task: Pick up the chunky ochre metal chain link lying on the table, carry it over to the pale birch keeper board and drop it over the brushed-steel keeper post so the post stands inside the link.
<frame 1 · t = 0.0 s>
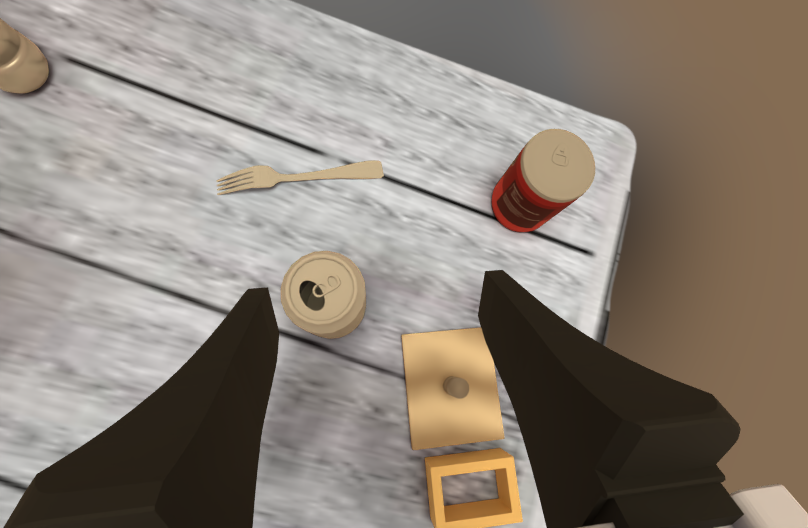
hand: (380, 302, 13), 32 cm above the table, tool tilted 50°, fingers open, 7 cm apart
plastic bottle: (30, 78, 48), on the table
keeper: (450, 385, 44), on the table
link: (466, 481, 42), on the table
can: (333, 306, 45), on the table
fork: (301, 180, 49), on the table
canned food: (518, 205, 50), on the table
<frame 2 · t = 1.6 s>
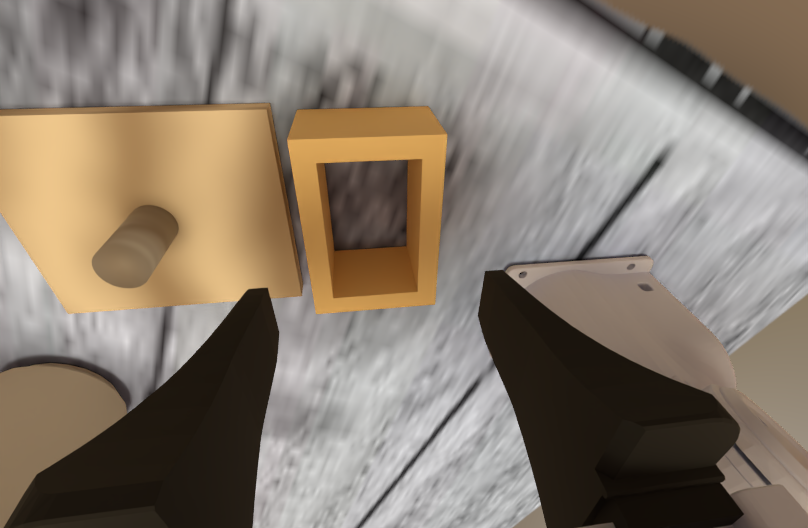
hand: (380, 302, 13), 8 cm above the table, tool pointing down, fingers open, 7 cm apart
keeper: (162, 213, 19), on the table
link: (368, 194, 20), on the table
can: (68, 390, 26), on the table
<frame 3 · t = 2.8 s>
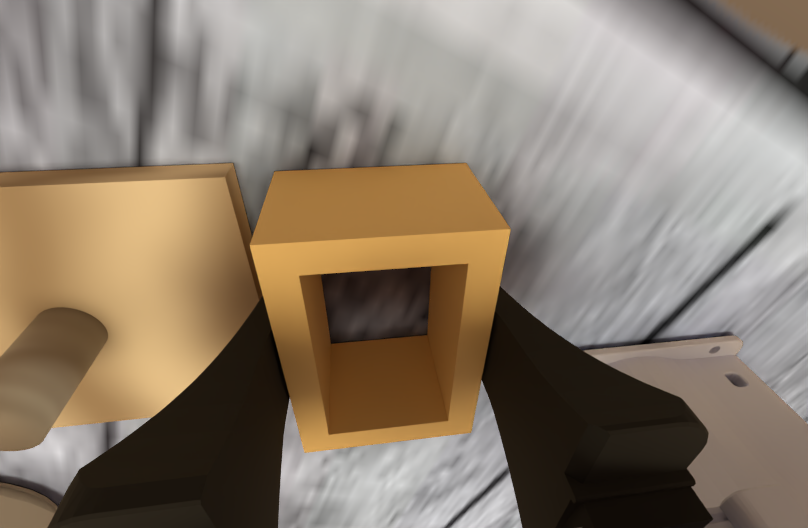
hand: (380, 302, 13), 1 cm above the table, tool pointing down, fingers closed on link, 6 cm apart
keeper: (88, 309, 14), on the table
link: (377, 276, 14), on the table, touching gripper
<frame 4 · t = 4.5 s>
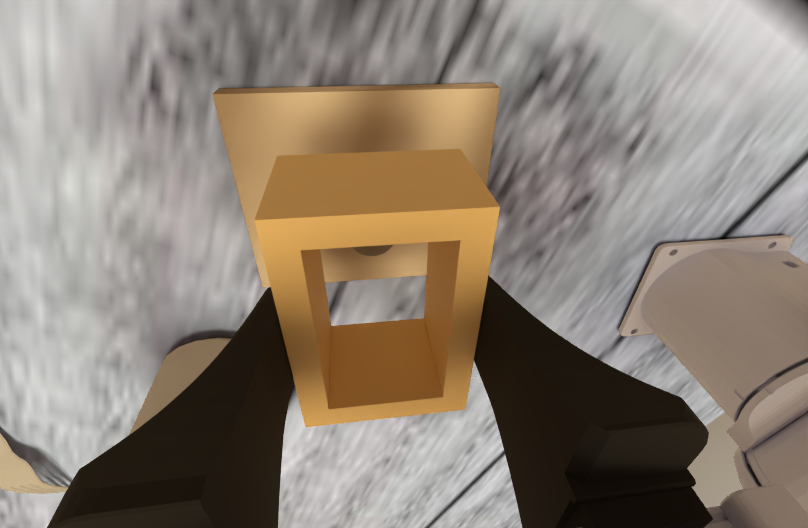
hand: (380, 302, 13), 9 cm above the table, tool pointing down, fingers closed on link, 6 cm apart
keeper: (366, 190, 20), on the table
link: (375, 259, 15), point 6 cm above the table, touching gripper
can: (227, 365, 27), on the table
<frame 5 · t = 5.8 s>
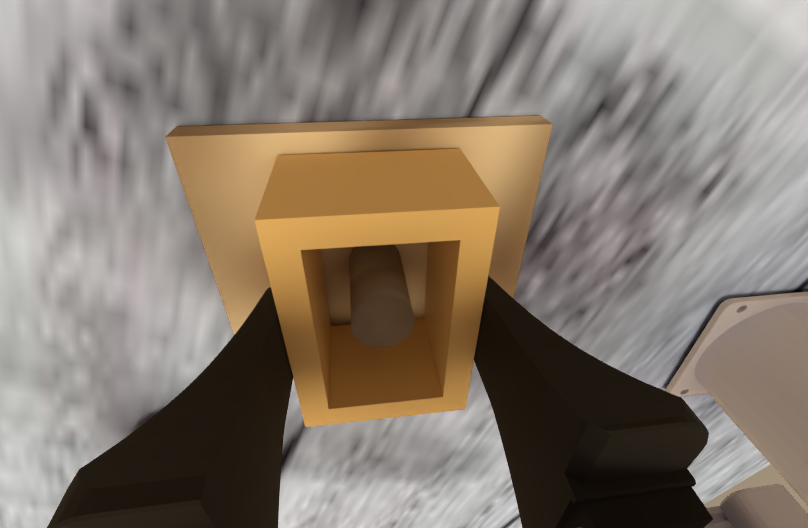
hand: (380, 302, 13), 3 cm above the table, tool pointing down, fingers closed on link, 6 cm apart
keeper: (373, 246, 16), on the table
link: (375, 259, 15), point 1 cm above the table, touching gripper
when the fingers open (3 cm above the table, at t = 6.6 s): link stays where it is, resting on keeper.
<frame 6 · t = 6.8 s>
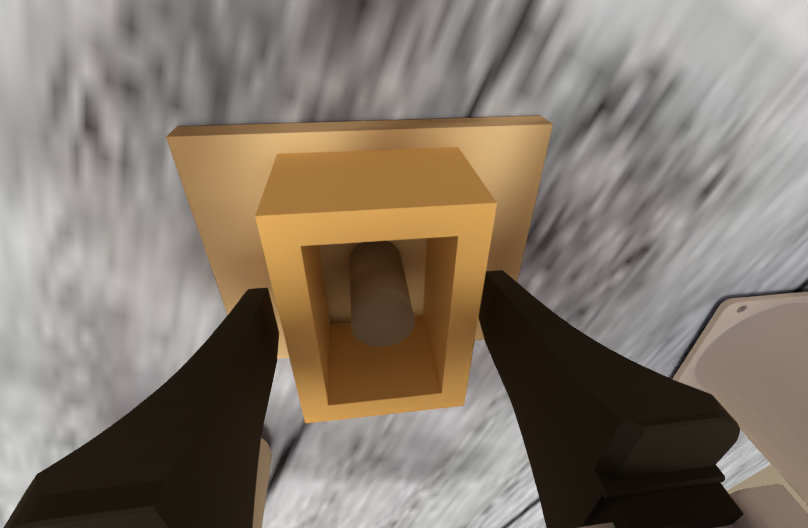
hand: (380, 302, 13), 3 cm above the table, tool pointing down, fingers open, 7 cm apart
keeper: (373, 246, 16), on the table
link: (374, 257, 15), point 1 cm above the table, touching keeper
can: (205, 439, 22), on the table
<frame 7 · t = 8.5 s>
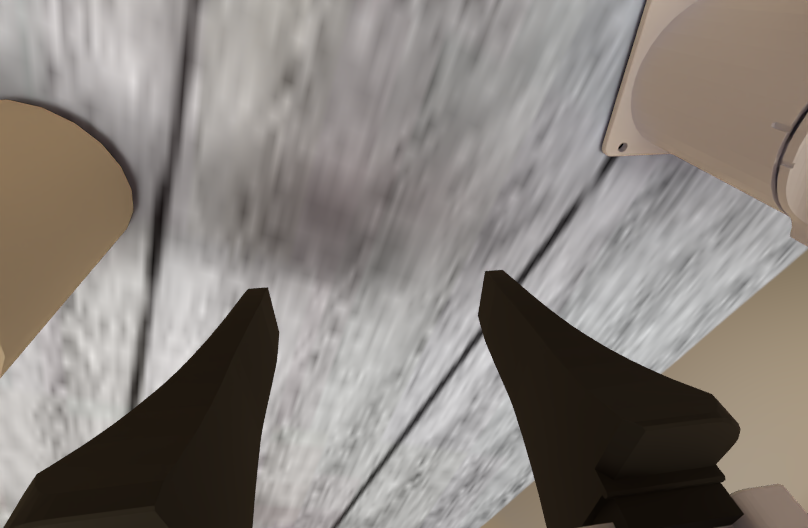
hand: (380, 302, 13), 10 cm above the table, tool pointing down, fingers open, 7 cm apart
can: (55, 174, 19), on the table
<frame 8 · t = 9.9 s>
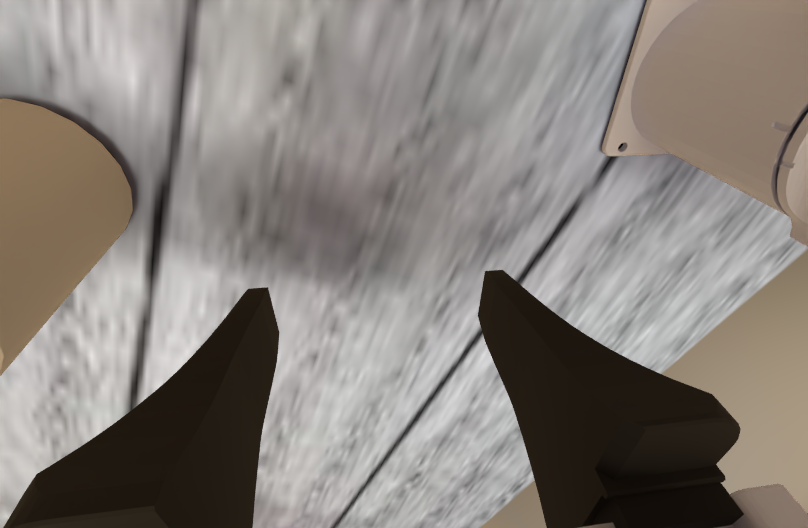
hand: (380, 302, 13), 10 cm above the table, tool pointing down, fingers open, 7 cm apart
can: (55, 173, 19), on the table
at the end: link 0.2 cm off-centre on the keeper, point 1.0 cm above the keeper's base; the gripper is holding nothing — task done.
